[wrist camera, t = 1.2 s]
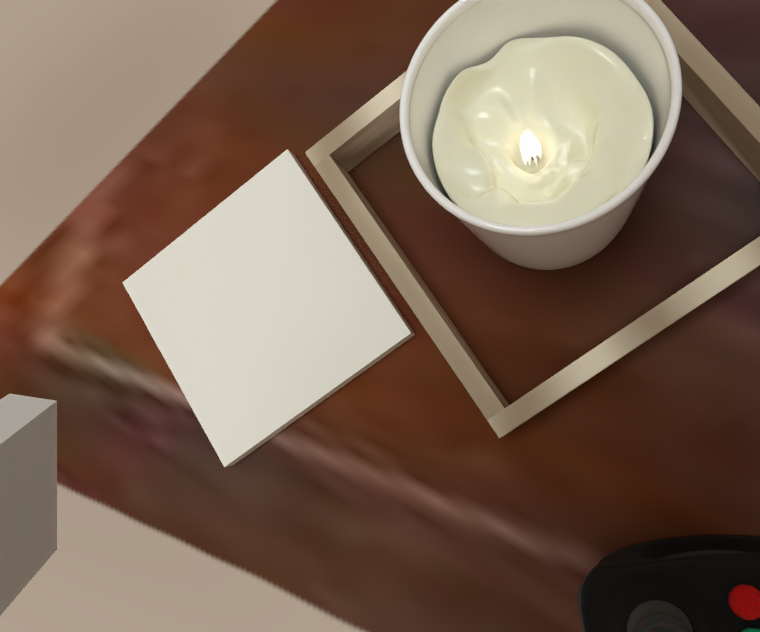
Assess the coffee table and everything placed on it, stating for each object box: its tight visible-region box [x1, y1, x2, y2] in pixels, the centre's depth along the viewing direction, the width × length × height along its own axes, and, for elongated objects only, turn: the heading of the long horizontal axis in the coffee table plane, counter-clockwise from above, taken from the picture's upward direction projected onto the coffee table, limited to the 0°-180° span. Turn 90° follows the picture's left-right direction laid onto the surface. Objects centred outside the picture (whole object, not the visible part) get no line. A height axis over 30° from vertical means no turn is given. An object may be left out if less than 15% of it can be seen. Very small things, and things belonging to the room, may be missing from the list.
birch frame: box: [305, 0, 760, 438], centre depth 34 cm, size 18×18×3 cm
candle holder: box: [399, 0, 682, 270], centre depth 30 cm, size 10×10×12 cm
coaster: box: [123, 149, 416, 467], centre depth 39 cm, size 13×13×1 cm
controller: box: [577, 535, 760, 632], centre depth 26 cm, size 4×12×10 cm, turn 97°
